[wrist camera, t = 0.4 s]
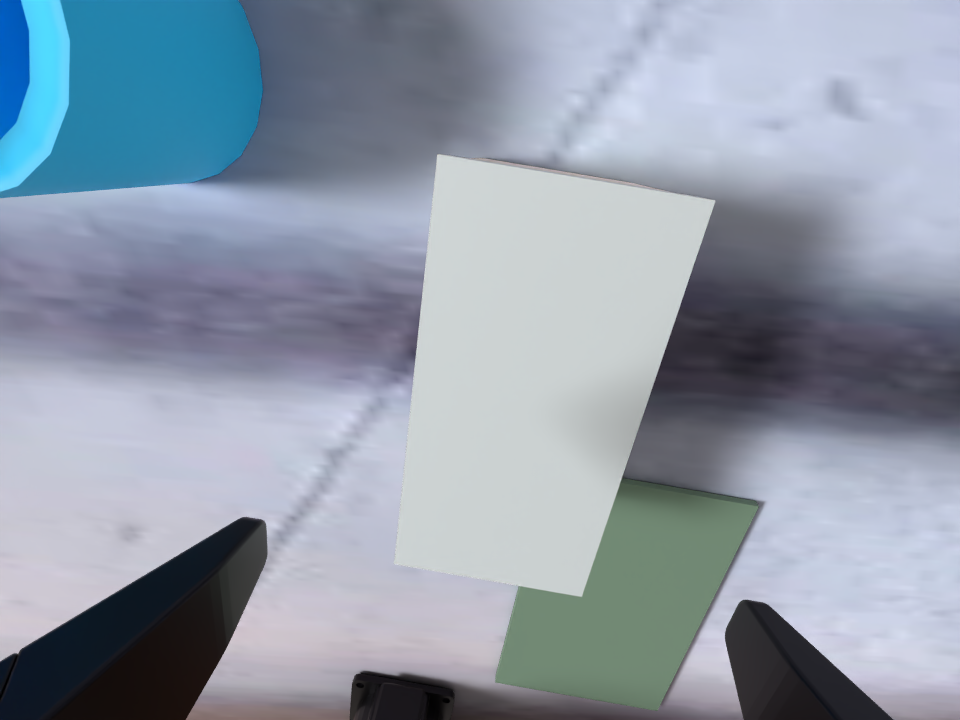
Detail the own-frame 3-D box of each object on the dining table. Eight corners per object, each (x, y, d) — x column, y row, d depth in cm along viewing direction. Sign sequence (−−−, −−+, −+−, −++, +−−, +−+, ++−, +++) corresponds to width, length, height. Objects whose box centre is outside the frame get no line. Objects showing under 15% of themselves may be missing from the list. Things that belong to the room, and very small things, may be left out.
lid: (575, 551, 19) (581, 597, 17) (406, 521, 19) (393, 564, 17) (687, 193, 14) (715, 200, 12) (449, 154, 14) (437, 154, 12)
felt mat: (655, 704, 29) (657, 710, 29) (495, 675, 29) (495, 682, 29) (754, 500, 23) (758, 506, 22) (550, 465, 23) (550, 470, 22)
